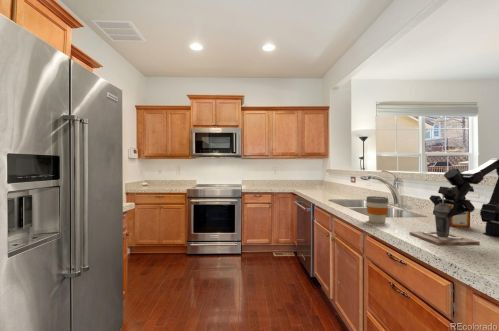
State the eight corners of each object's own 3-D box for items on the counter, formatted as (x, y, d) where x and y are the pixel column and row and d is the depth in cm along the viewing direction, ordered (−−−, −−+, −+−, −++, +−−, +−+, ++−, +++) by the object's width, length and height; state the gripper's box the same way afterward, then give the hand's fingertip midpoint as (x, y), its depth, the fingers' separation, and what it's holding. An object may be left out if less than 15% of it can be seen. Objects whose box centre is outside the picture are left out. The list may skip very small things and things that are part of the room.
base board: (445, 233, 134) (445, 229, 134) (479, 244, 116) (479, 239, 116) (409, 234, 132) (409, 230, 132) (438, 245, 114) (438, 240, 114)
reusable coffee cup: (368, 223, 156) (368, 198, 156) (364, 218, 168) (364, 195, 168) (391, 224, 153) (391, 199, 153) (385, 219, 165) (385, 196, 165)
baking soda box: (465, 225, 153) (465, 198, 152) (470, 227, 147) (470, 199, 146) (446, 223, 156) (446, 197, 156) (449, 226, 150) (450, 198, 150)
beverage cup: (433, 235, 123) (433, 194, 123) (433, 232, 129) (434, 192, 129) (452, 238, 119) (452, 195, 118) (452, 235, 125) (452, 194, 124)
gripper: (432, 179, 134) (414, 201, 131) (469, 182, 115) (449, 207, 113) (444, 194, 135) (427, 216, 133) (483, 199, 117) (463, 224, 115)
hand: (440, 215), depth 123 cm, fingers closed on beverage cup, 7 cm apart
